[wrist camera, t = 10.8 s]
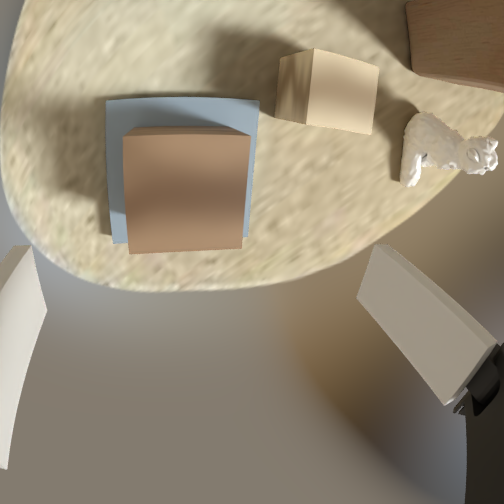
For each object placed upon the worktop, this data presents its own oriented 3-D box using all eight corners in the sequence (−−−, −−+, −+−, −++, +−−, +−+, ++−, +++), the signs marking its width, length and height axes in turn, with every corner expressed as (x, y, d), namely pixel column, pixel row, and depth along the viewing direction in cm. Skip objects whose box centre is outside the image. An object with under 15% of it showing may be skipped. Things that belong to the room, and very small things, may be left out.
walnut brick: (134, 127, 22) (122, 136, 16) (229, 126, 24) (251, 136, 18) (136, 216, 26) (129, 254, 20) (223, 213, 28) (241, 248, 22)
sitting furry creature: (397, 187, 34) (469, 228, 24) (381, 123, 29) (465, 147, 19) (443, 159, 34) (512, 189, 24) (432, 100, 29) (510, 118, 19)
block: (408, 74, 27) (564, 103, 10) (400, 0, 22) (549, -9, 5) (456, 84, 29) (583, 118, 12) (451, 19, 23) (577, 30, 7)
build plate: (109, 100, 21) (105, 100, 20) (255, 100, 25) (259, 100, 24) (115, 236, 27) (113, 243, 26) (244, 230, 31) (247, 236, 30)
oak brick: (279, 57, 23) (314, 48, 17) (336, 69, 25) (379, 67, 19) (273, 117, 26) (306, 124, 20) (329, 124, 28) (370, 135, 22)
